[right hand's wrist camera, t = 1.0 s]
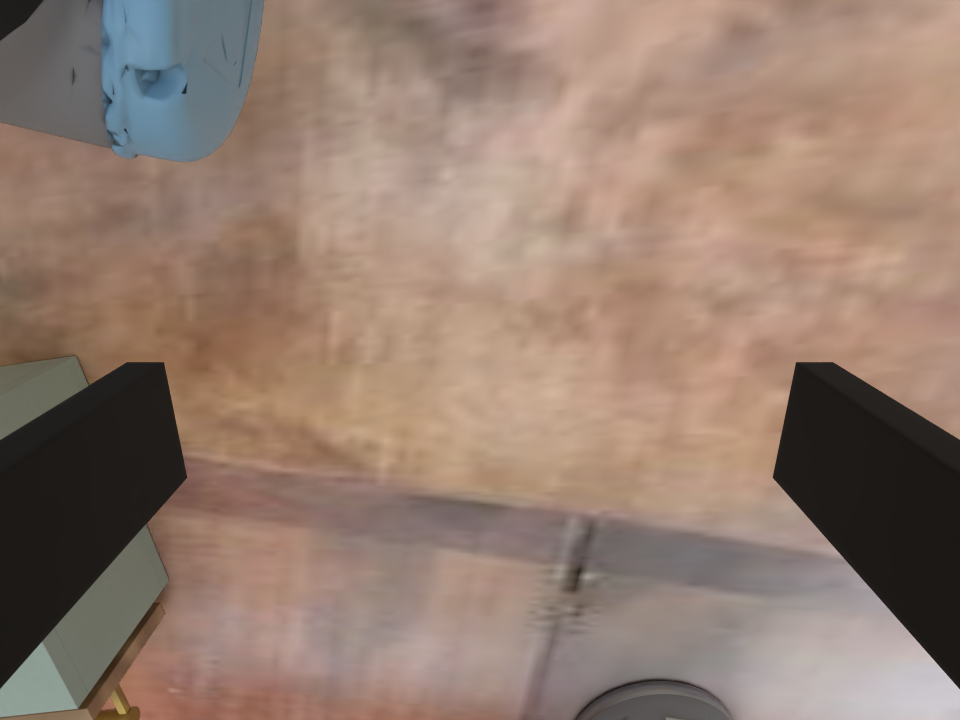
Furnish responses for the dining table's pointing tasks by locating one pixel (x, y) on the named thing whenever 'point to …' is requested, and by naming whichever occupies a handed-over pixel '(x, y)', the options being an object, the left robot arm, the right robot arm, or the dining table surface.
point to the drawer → (109, 680)
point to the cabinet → (107, 603)
